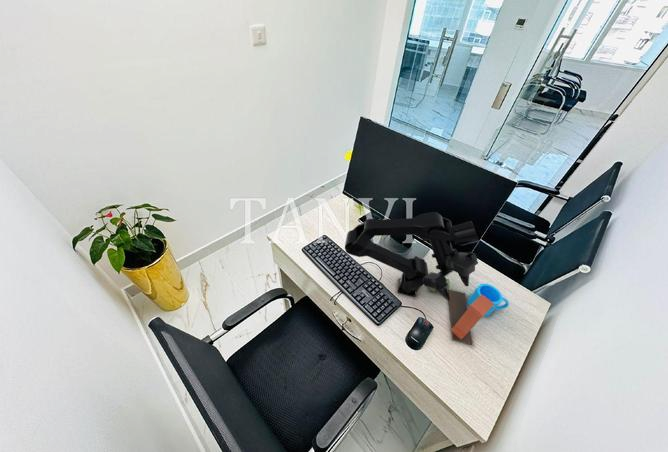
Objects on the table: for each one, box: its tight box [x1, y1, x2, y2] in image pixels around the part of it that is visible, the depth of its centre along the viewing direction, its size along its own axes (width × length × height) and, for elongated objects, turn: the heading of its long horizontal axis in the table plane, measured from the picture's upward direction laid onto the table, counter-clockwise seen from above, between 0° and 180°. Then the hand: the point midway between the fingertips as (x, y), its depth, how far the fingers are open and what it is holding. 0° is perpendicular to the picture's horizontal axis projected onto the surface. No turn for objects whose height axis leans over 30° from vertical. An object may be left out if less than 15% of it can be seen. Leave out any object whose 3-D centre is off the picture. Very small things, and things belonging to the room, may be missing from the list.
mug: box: [467, 283, 510, 317], centre depth 90 cm, size 12×8×8 cm
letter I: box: [450, 294, 494, 340], centre depth 79 cm, size 4×6×16 cm, turn 127°
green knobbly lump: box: [429, 278, 451, 293], centre depth 96 cm, size 4×6×5 cm, turn 75°
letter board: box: [448, 289, 473, 346], centre depth 89 cm, size 6×20×1 cm, turn 165°
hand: (457, 293), depth 81 cm, fingers open, 9 cm apart
